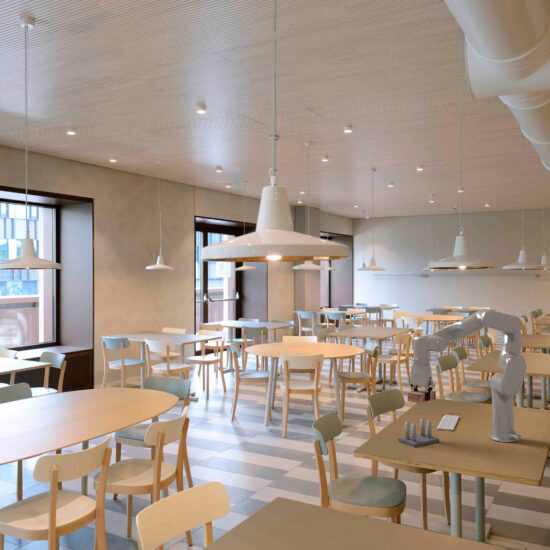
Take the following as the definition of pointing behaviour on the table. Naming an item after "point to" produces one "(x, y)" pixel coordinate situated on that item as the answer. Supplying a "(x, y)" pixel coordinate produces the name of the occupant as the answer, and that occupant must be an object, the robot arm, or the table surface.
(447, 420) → the baseboard
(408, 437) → the peg stand
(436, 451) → the table surface
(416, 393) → the pink elongated block
